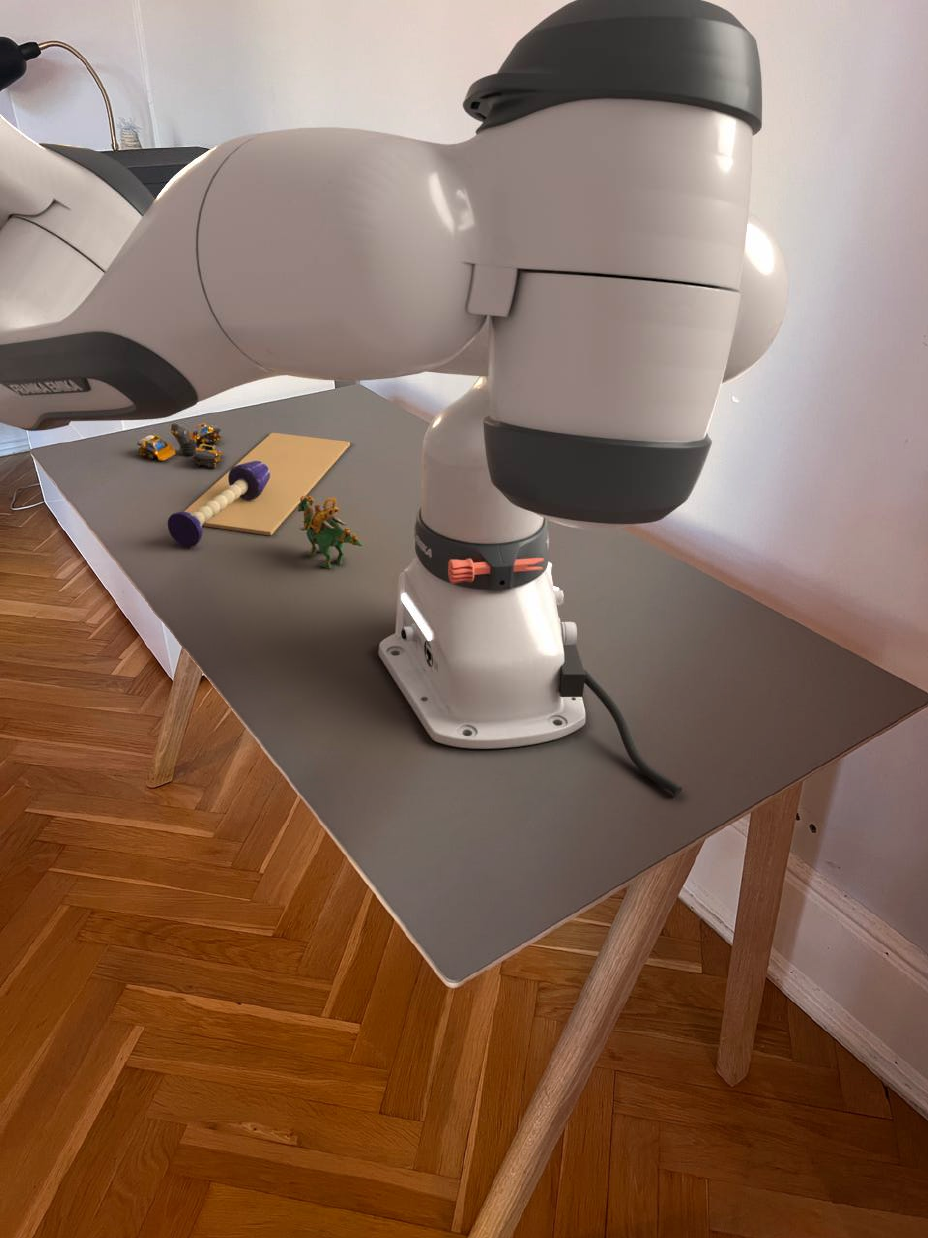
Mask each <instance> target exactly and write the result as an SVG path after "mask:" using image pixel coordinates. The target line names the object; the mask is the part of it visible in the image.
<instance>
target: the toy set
mask: <svg viewBox="0 0 928 1238" xmlns="http://www.w3.org/2000/svg"><path fill="white" fill-rule="evenodd" d="M195 426H196V428H195V430H193V431H192V432H190V431H189V430H188V429H186V428H185V427H184V426H182V425H180V424H178V423H171V428H170V433H171V435H172V436H174V438H175V439H176V441H177V442H178V444H179V451H180V452H181V453H182V454H184V455H193V456H192V462H191V463H192V465H193V466H198V467H200V466H201V465H203V466H207V467H208V468H209V469H216V468H217V466H218V464H219V462H220V461H221V457H222V451H221V450H219V449H218V450H217V448H216V445H209V444H210V443H211V444H212V443H221V442H220V441H221V440H222V437H221V436H220V434H219V433H220V432H221V431H222V429H221V428H220V426H218V425H215V424H212V425H208V424H207V423H206V422H202V423H199V424H197V425H195ZM197 440H198V441H199V442H201V444H199V446H198V445H197V442H198V441H197ZM136 445H137V446H139V448H138V454H139V455H140V457H143V458H148V459H151V460H153V459H154V458H157V459H158V461H160V462H163V461H166V460H168V459H169V458H171V457H173V456H174V455H176V451H175V448H174V446H173V445H172V444H170V443H168V442H166V441H165V440H164V439H163V438H162V437H161V436H159V435H157V434H154V435H147V436H144V437H143V438H142V439H140V440H139V441H137V442H136Z"/></svg>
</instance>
